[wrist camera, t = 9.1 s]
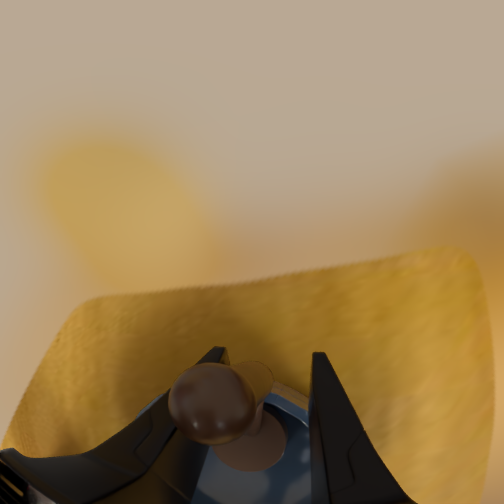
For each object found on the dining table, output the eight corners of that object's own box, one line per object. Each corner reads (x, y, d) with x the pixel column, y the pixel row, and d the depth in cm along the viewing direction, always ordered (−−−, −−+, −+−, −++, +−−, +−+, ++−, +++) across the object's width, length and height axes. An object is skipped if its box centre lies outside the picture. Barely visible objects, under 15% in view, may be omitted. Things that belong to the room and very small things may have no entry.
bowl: (301, 548, 12) (297, 578, 8) (140, 489, 16) (112, 507, 12) (371, 404, 15) (386, 418, 12) (179, 347, 19) (150, 346, 15)
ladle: (275, 472, 14) (217, 607, 3) (209, 449, 15) (86, 541, 4) (314, 361, 16) (323, 402, 5) (243, 341, 17) (121, 330, 6)
